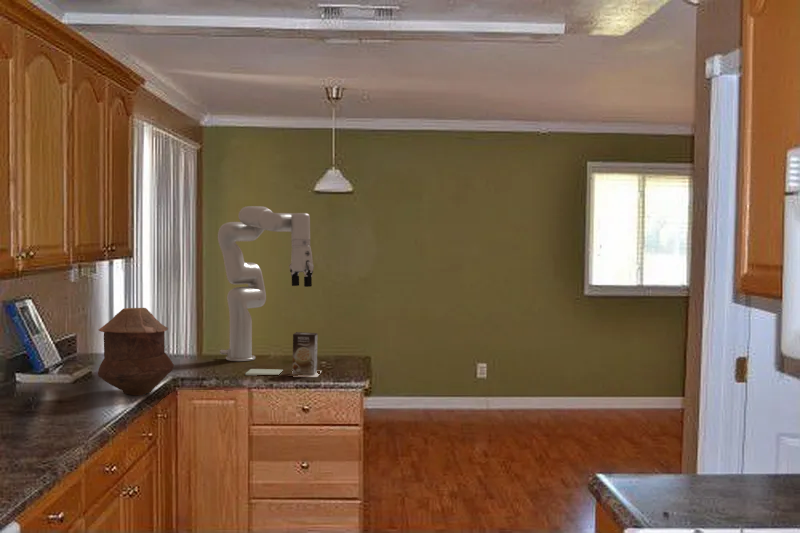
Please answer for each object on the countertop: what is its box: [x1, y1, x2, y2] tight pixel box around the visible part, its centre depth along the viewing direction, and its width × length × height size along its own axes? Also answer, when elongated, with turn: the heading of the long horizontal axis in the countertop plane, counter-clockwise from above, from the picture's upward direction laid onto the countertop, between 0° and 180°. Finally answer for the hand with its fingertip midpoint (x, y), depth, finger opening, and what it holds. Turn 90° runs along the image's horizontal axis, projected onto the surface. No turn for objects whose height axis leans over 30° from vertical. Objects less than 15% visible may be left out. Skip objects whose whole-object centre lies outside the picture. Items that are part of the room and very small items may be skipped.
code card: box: [293, 370, 323, 378], centre depth 349 cm, size 12×14×1 cm
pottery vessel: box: [97, 307, 175, 396], centre depth 307 cm, size 26×26×30 cm
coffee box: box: [291, 331, 319, 375], centre depth 349 cm, size 9×6×16 cm
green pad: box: [245, 368, 284, 376], centre depth 349 cm, size 13×10×1 cm
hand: (301, 286), depth 354 cm, fingers open, 9 cm apart
